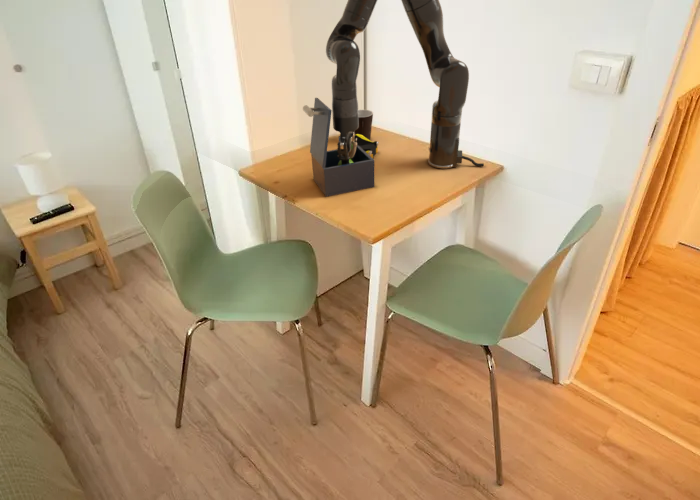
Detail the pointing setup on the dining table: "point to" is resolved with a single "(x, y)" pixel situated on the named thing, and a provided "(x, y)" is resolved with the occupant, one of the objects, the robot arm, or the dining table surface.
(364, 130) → the coffee mug
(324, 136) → the lid
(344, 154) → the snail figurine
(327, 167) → the compartment
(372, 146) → the gaming controller
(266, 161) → the dining table surface
